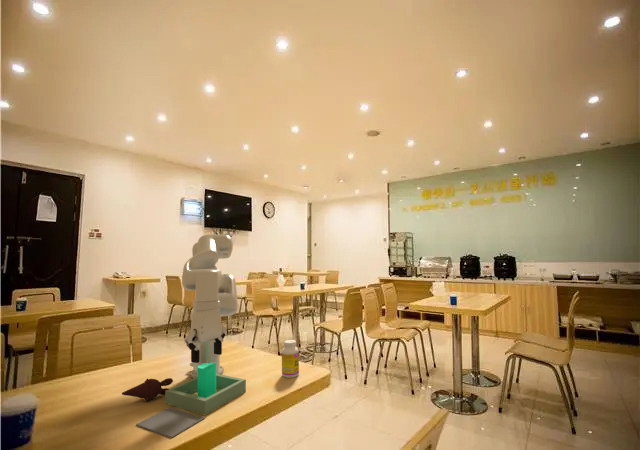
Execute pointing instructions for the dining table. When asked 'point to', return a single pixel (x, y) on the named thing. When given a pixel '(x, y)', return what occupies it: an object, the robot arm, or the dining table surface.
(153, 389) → the icecream
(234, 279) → the robot arm
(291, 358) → the supplement bottle
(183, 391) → the box
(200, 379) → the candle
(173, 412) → the rubber mat
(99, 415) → the dining table surface
